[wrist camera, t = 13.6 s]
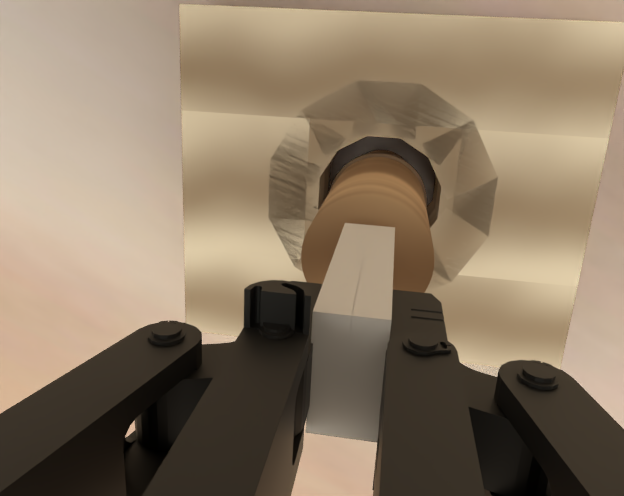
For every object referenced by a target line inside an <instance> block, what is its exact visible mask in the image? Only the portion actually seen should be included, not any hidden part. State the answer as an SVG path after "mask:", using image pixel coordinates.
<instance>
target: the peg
mask: <svg viewBox="0 0 624 496" xmlns="http://www.w3.org/2000/svg"><path fill="white" fill-rule="evenodd" d="M345 223H352V224H364V225H375V226H386V227H395V243H394V269H393V290H402V291H412V292H421V293H424V292H425V291H426V289H427V287H428V285H429V283H430V281H431V278H432V275H433V270H434V260H435V258H434V248H433V243H432V237H431V231H430V226H429V220H428V215H427V196H426V191H425V186H424V184H423V181H422V179H421V177H420V175H419V174H418V172H417V171H416V170H415V169H414V168H413V167H412V166H411V165H410V164H409V163H408V162H406V161H405V160H404V159H403V158H402V157H401V156H399V155H398V154H396V153H394V152H391V151H387V150H376V151H372V152H369V153H367V154H365V155H361V156H359V157H356V158H355V159H353V160H351V161H350V162H349V163H347V164H346V165H345V166H344V167H343V168H342V169H341V170H340V171H339V173H338V174H337V176H336V177H335V179H334V181H333V183H332V185H331V188H330V192H329V194H328V196H327V197H326V199H325V201H324V203H323V204H322V206H321V208H320V209H319V211H318V213H317V215H316V216H315V218H314V220H313V221H312V223H311V225H310V227H309V228H308V230H307V232H306V235H305V237H304V241H303V244H302V251H301V263H302V270H303V273H304V277H305V279H306V281H307V282H309V283H319V284H323V282H324V279H325V276H326V273H327V271H328V268H329V265H330V263H331V260H332V257H333V254H334V252H335V249H336V246H337V243H338V241H339V238H340V235H341V232H342V230H343V227H344V224H345Z"/></svg>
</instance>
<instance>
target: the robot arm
mask: <svg viewBox="0 0 624 496" xmlns="http://www.w3.org/2000/svg"><path fill="white" fill-rule="evenodd" d="M394 243H395V227H386V226H375V225H364V224H352V223H345V224H344V227H343V230H342V232H341V235H340V238H339V241H338V243H337V246H336V249H335V252H334V254H333V257H332V260H331V263H330V265H329V268H328V271H327V273H326V276H325V279H324V282H323V284H319V283H309V282H299V281H284V280H268V281H260V282H256V283H253V284H250V285H249V286H248V287H246V288H245V289H244V328H243V329H242V331H241V333H240V334H239V336H238V338H237V339H236V341H235V342H230V343H221V344H203V345H202V334H201V331H200V330H199V329H198V328H197V327H195V326H192V325H190V324H187V323H181V322H178V321H169V322H168V321H161V322H159V323H155V324H151V325H147V326H145V327H143V328H141V329H138V330H137V331H135V332H133V333H132V334H130V335H129V336H127V337H125V338H124V339H122V340H120V341H119V342H117V343H115V344H114V345H112V346H111V347H109V348H107V349H106V350H104V351H102V352H101V353H99V354H97V355H96V356H94V357H93V358H91V359H89V360H88V361H86V362H84V363H83V364H81V365H79V366H78V367H76V368H75V369H73V370H71V371H70V372H68V373H66V374H65V375H63V376H61V377H60V378H58V379H57V380H55V381H53V382H52V383H50V384H48V385H47V386H45V387H43V388H42V389H40V390H39V391H37V392H35V393H34V394H32V395H30V396H29V397H27V398H25V399H24V400H22V401H21V402H19V403H17V404H16V405H14V406H12V407H11V408H9V409H7V410H6V411H4V412H3V413H1V414H0V496H291V492H292V489H293V485H294V481H295V477H296V473H297V469H298V465H299V461H300V457H301V453H302V449H303V437H304V425H305V421H306V417H307V422H306V433H313V434H320V435H327V436H335V437H342V438H349V439H357V440H364V441H371V442H377V452H376V462H375V471H374V481H373V490H374V492H373V496H624V429H623V428H622V427H621V426H620V425H619V424H618V423H617V422H616V421H615V420H614V419H613V418H612V417H611V416H610V415H609V414H608V413H607V412H606V411H605V410H604V409H603V408H602V407H601V406H600V405H599V404H598V403H597V402H596V401H595V400H594V399H593V398H592V397H591V396H590V395H589V394H588V393H587V392H586V391H585V390H584V389H583V388H582V387H581V386H580V385H579V384H578V383H577V382H576V381H575V380H574V379H573V378H572V377H571V376H569V375H568V374H567V373H565V372H564V371H562V370H560V369H558V368H556V367H553V366H552V365H551V364H548V363H545V362H543V363H541V361H536V360H531V361H529V360H515V361H509V362H507V363H505V364H503V365H501V367H500V369H499V371H498V377H495V376H491V375H488V374H484V373H481V372H478V371H475V370H472V369H470V368H468V367H466V366H464V365H463V364H461V363H460V362H459V357H458V352H457V350H456V348H455V346H454V345H453V344H452V343H450V342H449V341H448V339H447V333H446V327H445V322H444V316H443V310H442V304H441V302H440V301H439V300H438V299H437V298H436V297H435V296H434V295H432V294H431V293H421V292H412V291H402V290H393V269H394ZM134 420H135V431H134V432H133V433H131V434H130V435H129V436H128V437H126V438H125V435H126V433H127V431H128V429H129V426H130V425H131V423H132V422H133V421H134Z"/></svg>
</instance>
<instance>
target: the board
mask: <svg viewBox="0 0 624 496" xmlns="http://www.w3.org/2000/svg"><path fill="white" fill-rule="evenodd" d="M179 22H180V71H181V119H182V168H183V216H184V264H185V313H186V323H187V324H190V325H192V326H195V327H197V328H198V329H199V330H200V331H201V332H204V333H213V334H221V335H230V336H239V334H240V333H241V331H242V329H243V328H244V289H245V288H246V287H248V286H249V285H250V284H253V283H256V282H260V281H268V280H284V281H299V282H307V281H306V279H305V277H304V273H303V270H302V263H301V251H302V244H303V241H304V237H305V235H306V232H307V230H308V228H309V227H310V225H311V223H312V221H313V220H314V218H315V216H316V215H317V213H318V211H319V209H320V208H321V206H322V204H323V203H324V201H325V199H326V197H327V196H328V194H329V192H328V187H329V171H330V163H331V161H332V160H333V158H334V157H335V155H336V154H337V152H338V151H339V150H340V149H342V148H344V147H346V146H348V145H350V144H352V143H354V142H356V141H358V140H360V139H362V138H364V137H366V136H373V137H387V138H401V139H402V140H404V141H405V142H407V143H408V144H409V145H411V146H412V147H414V148H415V149H417V150H418V151H420V152H421V153H423V154H424V155H425V156H427V157H428V158H429V161H430V163H431V165H432V167H433V169H434V172H435V174H436V178H435V187H434V195H433V200H432V202H431V203H430V204H429V206H428V207H427V215H428V220H429V226H430V231H431V237H432V243H433V248H434V258H435V260H434V270H433V275H432V278H431V281H430V283H429V285H428V287H427V289H426V291H425V292H424V293H431V294H432V295H434V296H435V297H436V298H437V299H438V300H439V301H440V302H441V304H442V310H443V316H444V322H445V327H446V333H447V339H448V341H449V342H450V343H452V344H453V345H454V346H455V348H456V350H457V352H458V357H459V362H460V363H469V364H477V365H486V366H494V367H501V365H503V364H505V363H507V362H509V361H515V360H529V361H531V360H536V361H541V363H543V362H545V363H548V364H551V365H552V366H553V367H556V368H558V369H560V367H561V362H562V358H563V353H564V348H565V344H566V339H567V334H568V329H569V325H570V320H571V315H572V311H573V306H574V301H575V296H576V292H577V287H578V282H579V277H580V273H581V268H582V263H583V259H584V254H585V249H586V244H587V240H588V235H589V230H590V226H591V221H592V216H593V211H594V207H595V202H596V197H597V193H598V188H599V183H600V178H601V174H602V169H603V164H604V160H605V155H606V150H607V145H608V141H609V136H610V131H611V126H612V122H613V117H614V112H615V108H616V103H617V98H618V93H619V89H620V84H621V79H622V75H623V70H624V22H609V21H585V20H560V19H536V18H512V17H487V16H463V15H439V14H414V13H390V12H366V11H341V10H317V9H293V8H268V7H244V6H220V5H195V4H179Z"/></svg>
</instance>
